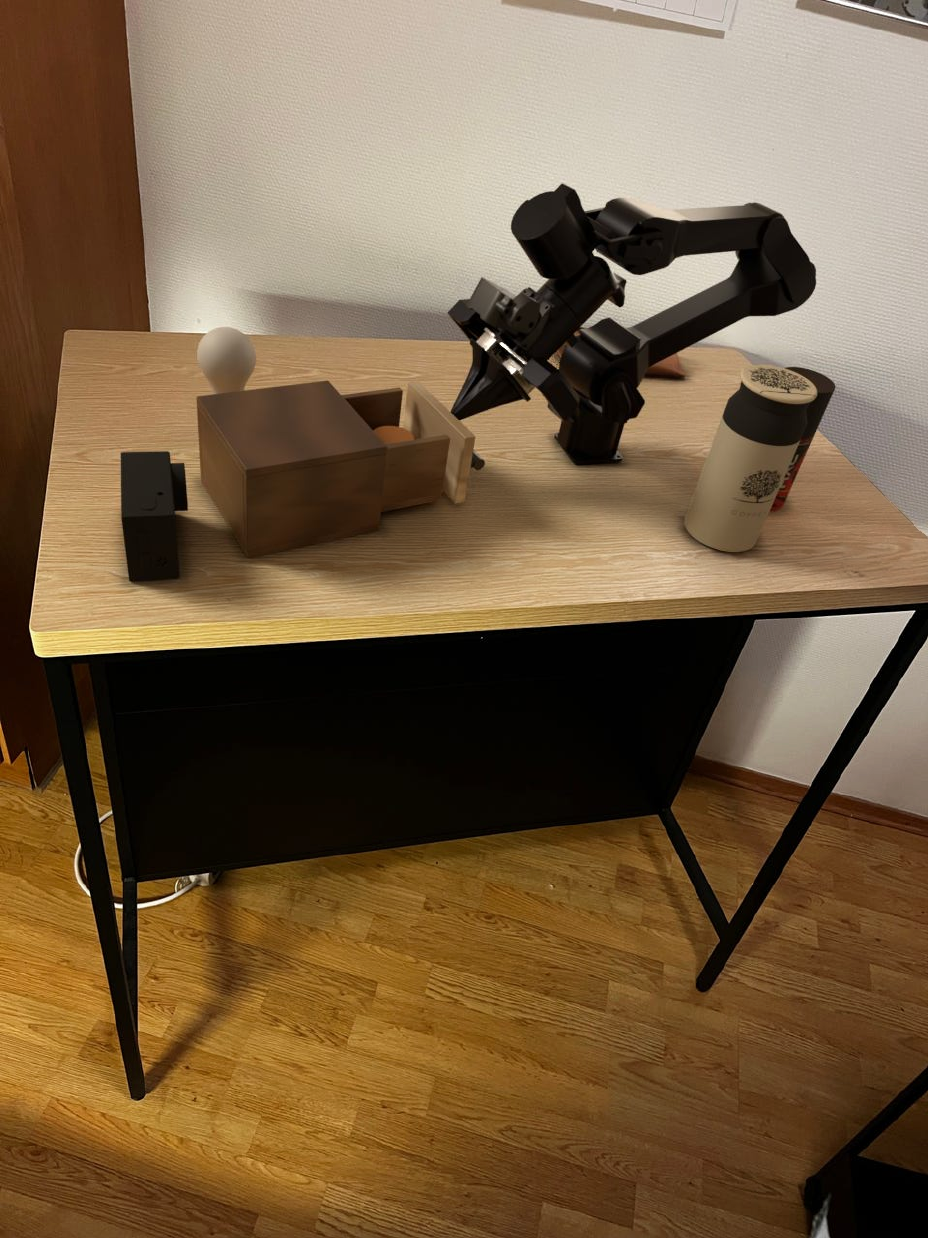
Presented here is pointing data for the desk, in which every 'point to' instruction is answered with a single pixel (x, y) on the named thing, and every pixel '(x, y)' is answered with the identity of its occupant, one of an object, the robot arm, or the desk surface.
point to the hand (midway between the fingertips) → (454, 416)
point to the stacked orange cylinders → (393, 434)
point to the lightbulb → (226, 359)
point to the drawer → (419, 446)
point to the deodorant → (806, 429)
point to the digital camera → (151, 513)
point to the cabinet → (290, 466)
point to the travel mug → (749, 457)
